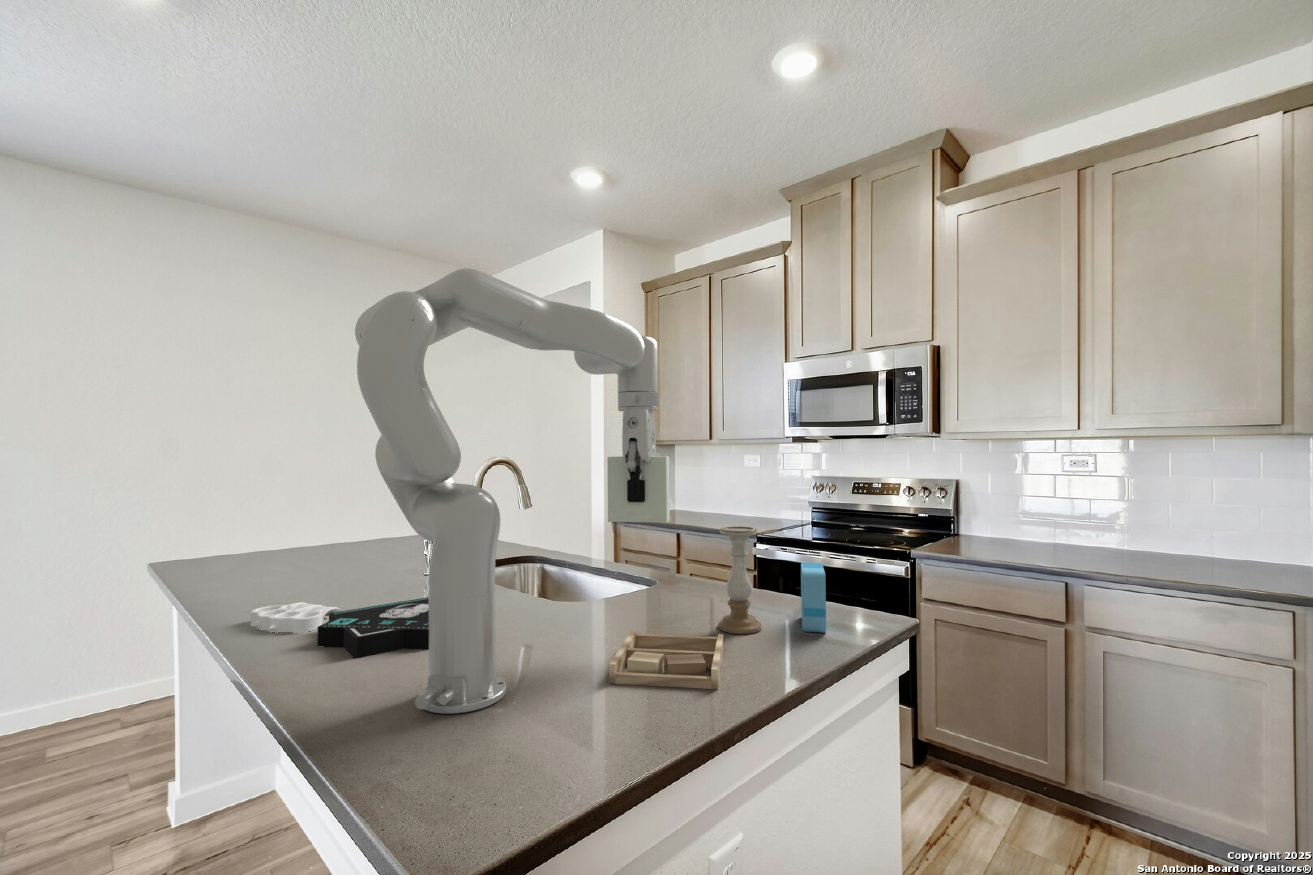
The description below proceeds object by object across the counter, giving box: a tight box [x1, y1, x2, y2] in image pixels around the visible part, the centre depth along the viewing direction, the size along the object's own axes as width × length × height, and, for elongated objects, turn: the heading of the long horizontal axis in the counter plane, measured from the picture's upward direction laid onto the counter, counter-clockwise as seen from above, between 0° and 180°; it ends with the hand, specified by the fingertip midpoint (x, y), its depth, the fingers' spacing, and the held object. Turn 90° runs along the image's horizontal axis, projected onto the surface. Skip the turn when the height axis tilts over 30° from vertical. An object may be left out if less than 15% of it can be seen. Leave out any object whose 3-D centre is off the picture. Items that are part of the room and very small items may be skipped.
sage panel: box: [607, 455, 671, 524], centre depth 113 cm, size 4×11×12 cm, turn 81°
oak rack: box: [608, 630, 725, 690], centre depth 102 cm, size 18×17×3 cm
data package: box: [800, 562, 827, 633], centre depth 125 cm, size 12×4×12 cm, turn 167°
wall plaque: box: [316, 596, 429, 659], centre depth 122 cm, size 30×4×30 cm
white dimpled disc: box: [249, 601, 343, 634], centre depth 129 cm, size 3×18×15 cm
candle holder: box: [717, 525, 762, 635], centre depth 123 cm, size 9×9×20 cm
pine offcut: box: [626, 652, 665, 674], centre depth 99 cm, size 4×5×3 cm
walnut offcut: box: [665, 654, 707, 676], centre depth 97 cm, size 4×6×3 cm, turn 94°
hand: (638, 499), depth 113 cm, fingers closed on sage panel, 4 cm apart
